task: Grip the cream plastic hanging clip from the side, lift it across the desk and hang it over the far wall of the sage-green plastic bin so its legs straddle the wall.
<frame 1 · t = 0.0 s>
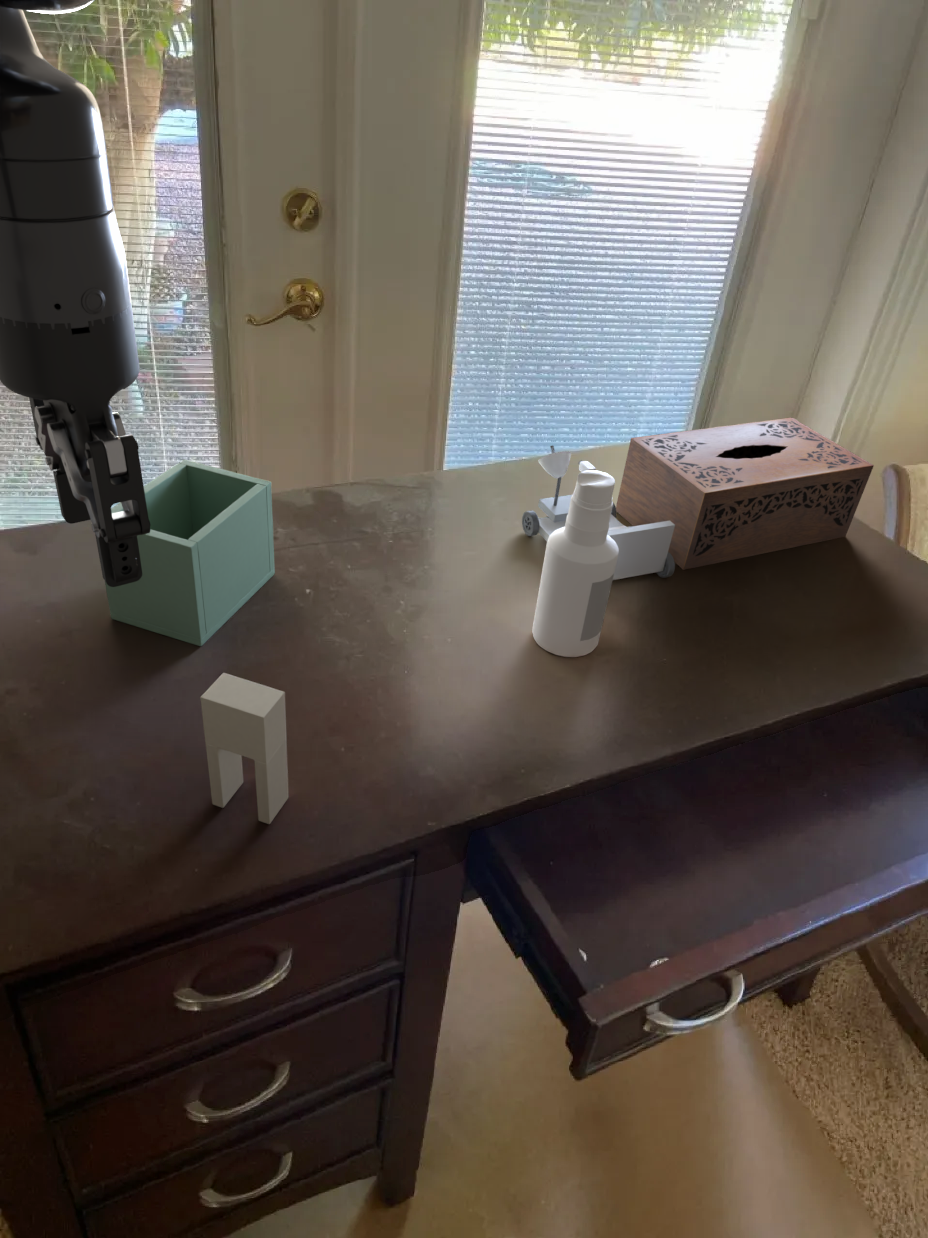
hand: (101, 549, 58), 21 cm above the table, tool pointing down, fingers open, 8 cm apart
clip: (250, 801, 69), on the table
toy car: (587, 549, 105), on the table
tissue box cover: (729, 524, 113), on the table
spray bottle: (564, 639, 90), on the table
bin: (197, 595, 90), on the table
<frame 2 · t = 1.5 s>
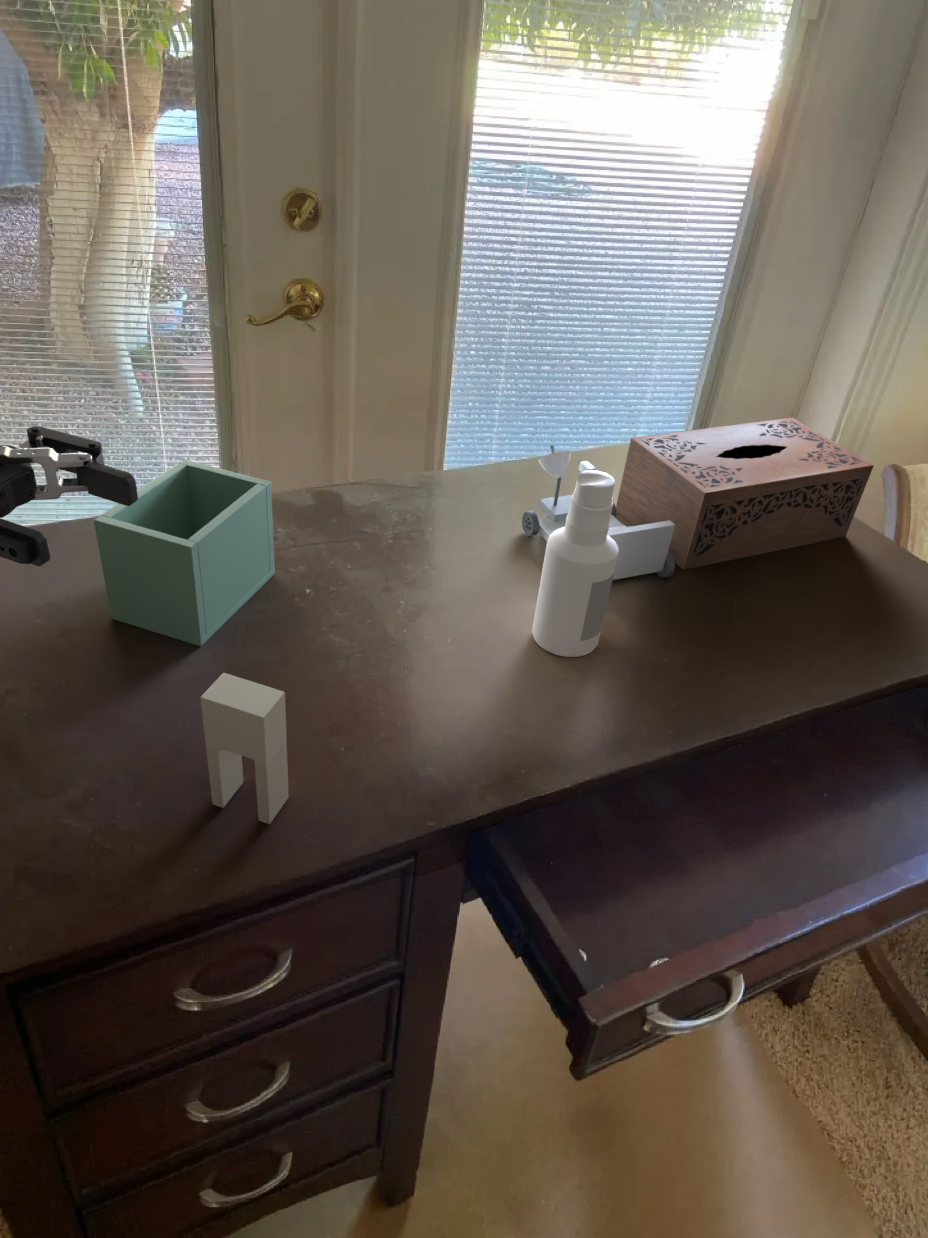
hand: (91, 519, 58), 22 cm above the table, tool horizontal, fingers open, 8 cm apart
nothing on the table moved.
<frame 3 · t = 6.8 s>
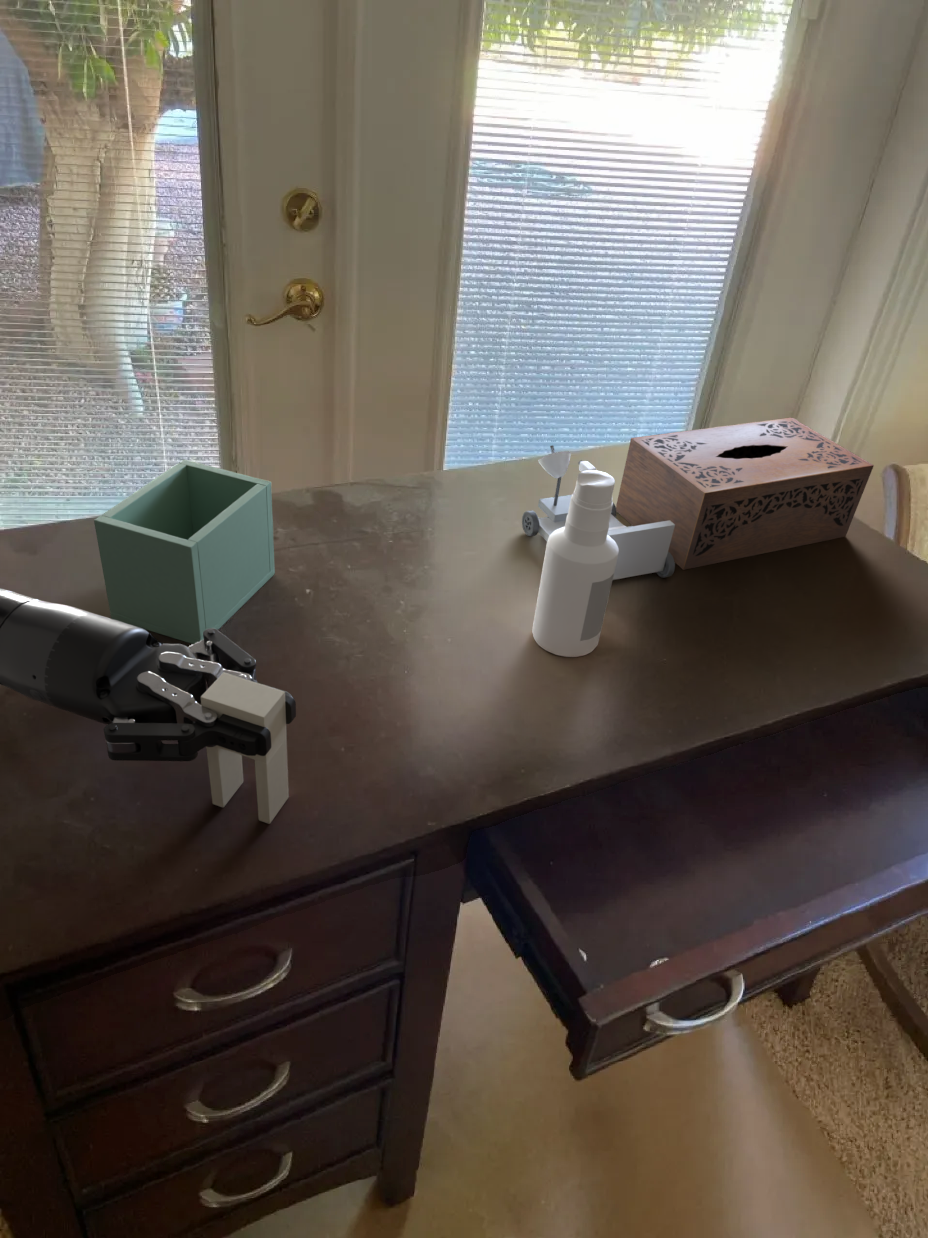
hand: (280, 726, 63), 9 cm above the table, tool horizontal, fingers closed on clip, 3 cm apart
clip: (250, 800, 69), on the table, touching gripper
everything else where it was.
when the fingers open (14 cm above the table, at t = 17.5 s): clip stays where it is, resting on bin.
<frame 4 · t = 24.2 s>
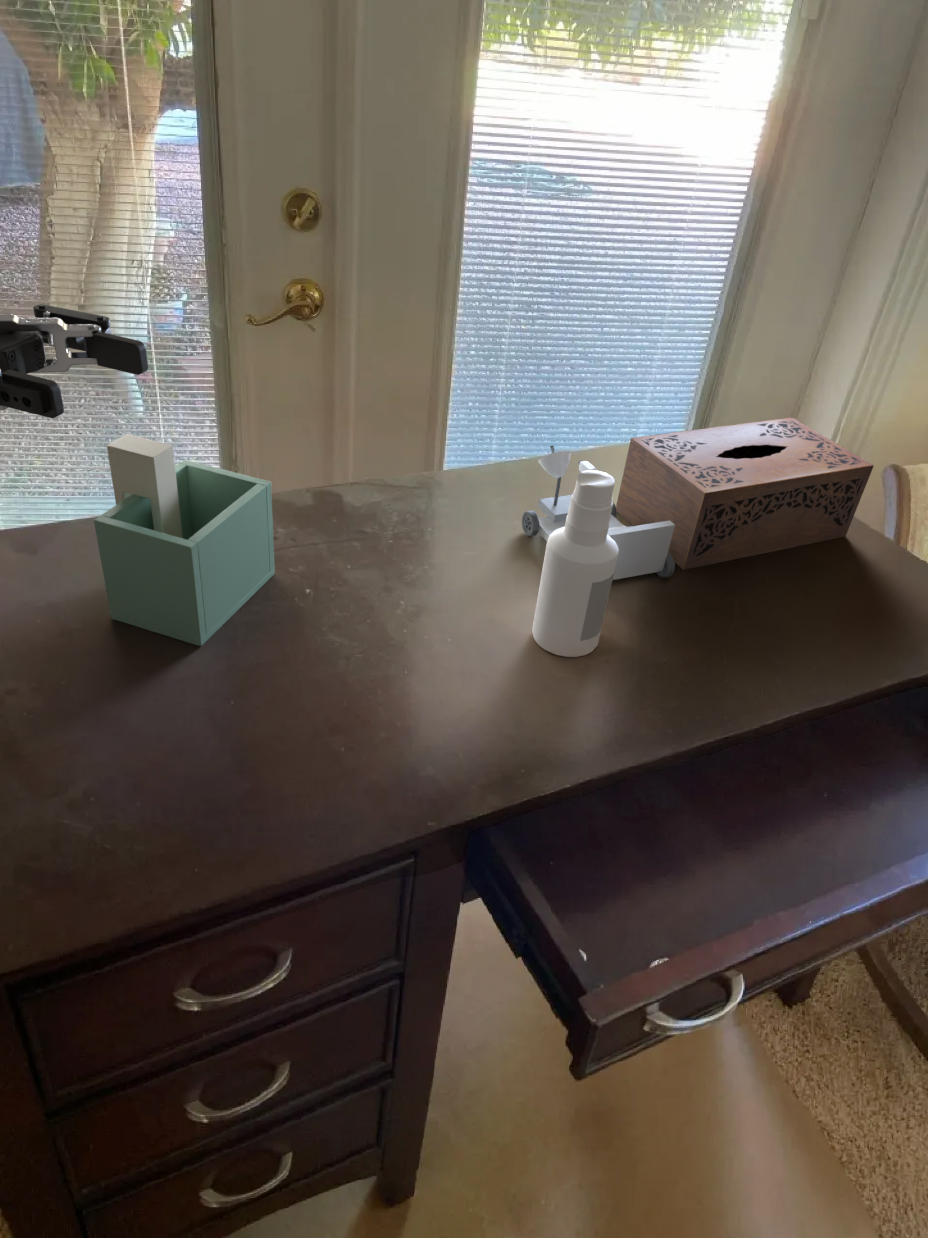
hand: (103, 378, 58), 30 cm above the table, tool horizontal, fingers open, 8 cm apart
clip: (153, 546, 89), point 4 cm above the table, touching bin
everything else where it was.
at the end: clip 0.0 cm from the target spot in the bin, point 4.5 cm above the bin's base; clip touching bin; clip tilted 0° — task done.
